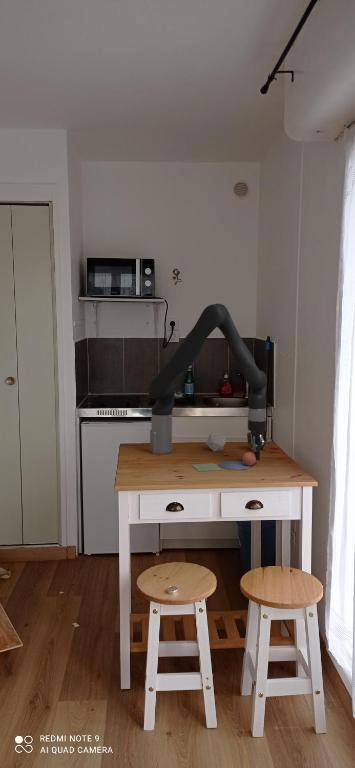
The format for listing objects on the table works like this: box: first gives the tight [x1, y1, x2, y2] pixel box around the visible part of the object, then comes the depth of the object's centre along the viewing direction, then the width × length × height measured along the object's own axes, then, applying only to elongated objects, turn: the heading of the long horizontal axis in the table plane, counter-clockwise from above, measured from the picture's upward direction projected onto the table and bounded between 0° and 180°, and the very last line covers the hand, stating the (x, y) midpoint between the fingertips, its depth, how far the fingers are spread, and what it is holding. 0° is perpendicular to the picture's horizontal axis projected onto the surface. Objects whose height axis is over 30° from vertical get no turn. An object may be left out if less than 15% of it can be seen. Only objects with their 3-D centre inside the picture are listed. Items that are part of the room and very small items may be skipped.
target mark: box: [217, 460, 251, 471], centre depth 239 cm, size 13×13×1 cm
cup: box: [246, 431, 254, 452], centre depth 265 cm, size 8×7×8 cm
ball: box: [242, 451, 257, 467], centre depth 239 cm, size 6×6×6 cm
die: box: [205, 432, 227, 452], centre depth 265 cm, size 8×9×10 cm
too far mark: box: [191, 462, 224, 473], centre depth 236 cm, size 10×10×1 cm
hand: (256, 459), depth 242 cm, fingers closed
